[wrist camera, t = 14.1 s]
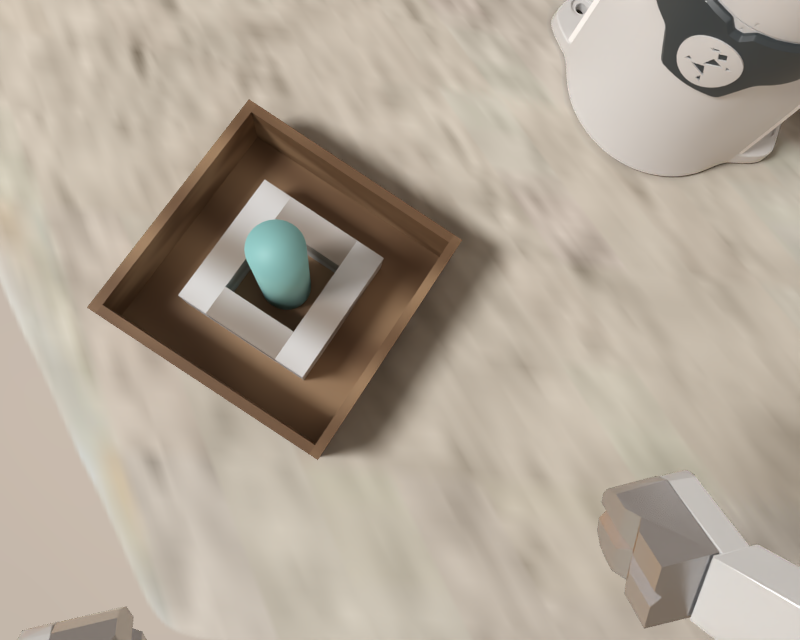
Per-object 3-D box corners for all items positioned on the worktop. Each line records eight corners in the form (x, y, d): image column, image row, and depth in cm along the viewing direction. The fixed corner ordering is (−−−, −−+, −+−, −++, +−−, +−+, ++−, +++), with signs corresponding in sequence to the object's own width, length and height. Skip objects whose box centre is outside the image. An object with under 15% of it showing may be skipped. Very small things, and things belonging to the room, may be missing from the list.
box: (256, 128, 45) (248, 99, 41) (450, 256, 45) (462, 240, 41) (109, 318, 42) (87, 307, 38) (318, 456, 42) (317, 459, 38)
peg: (280, 252, 43) (267, 207, 34) (320, 279, 43) (318, 241, 34) (251, 292, 43) (232, 256, 34) (292, 319, 43) (283, 290, 34)
